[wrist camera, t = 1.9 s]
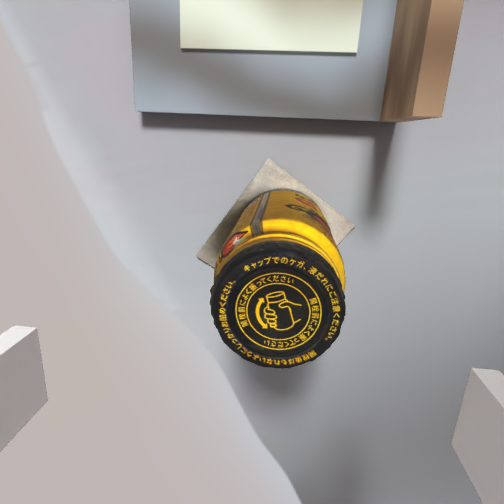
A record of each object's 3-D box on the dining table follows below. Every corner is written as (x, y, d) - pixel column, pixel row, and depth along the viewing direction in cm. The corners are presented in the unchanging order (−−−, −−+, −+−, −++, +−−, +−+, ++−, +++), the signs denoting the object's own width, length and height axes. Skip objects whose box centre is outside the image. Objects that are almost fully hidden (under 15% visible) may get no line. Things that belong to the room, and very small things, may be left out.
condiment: (354, 225, 24) (410, 305, 13) (277, 312, 27) (266, 443, 15) (268, 157, 23) (247, 178, 12) (197, 254, 26) (124, 346, 15)
